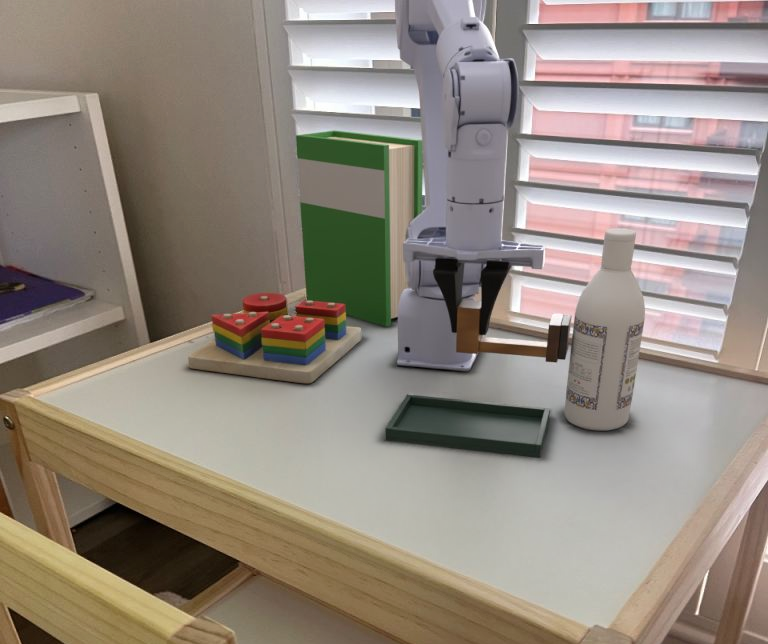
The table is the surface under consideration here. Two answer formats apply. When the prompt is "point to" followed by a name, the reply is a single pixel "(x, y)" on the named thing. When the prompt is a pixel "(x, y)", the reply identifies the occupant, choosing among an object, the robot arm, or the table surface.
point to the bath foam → (606, 340)
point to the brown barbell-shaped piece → (475, 343)
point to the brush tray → (470, 425)
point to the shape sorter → (277, 340)
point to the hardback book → (358, 218)
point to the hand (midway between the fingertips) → (469, 331)
